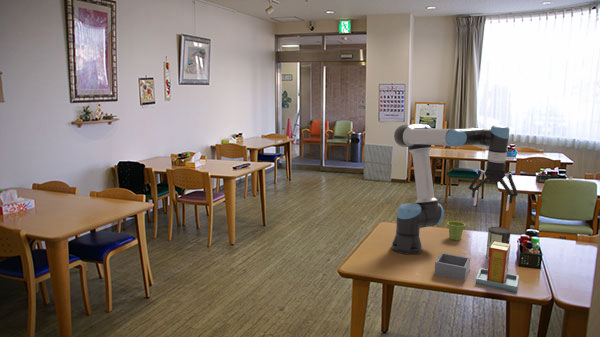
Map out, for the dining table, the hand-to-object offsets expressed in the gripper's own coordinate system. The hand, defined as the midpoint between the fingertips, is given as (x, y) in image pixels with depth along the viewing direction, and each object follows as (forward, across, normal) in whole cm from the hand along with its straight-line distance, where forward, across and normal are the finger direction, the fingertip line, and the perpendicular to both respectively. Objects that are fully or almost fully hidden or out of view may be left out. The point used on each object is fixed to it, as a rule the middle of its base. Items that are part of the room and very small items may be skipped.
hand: (490, 207), depth 205 cm
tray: (+30, +7, -12) cm, 33 cm away
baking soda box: (+29, +7, -12) cm, 32 cm away
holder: (+30, -12, -11) cm, 34 cm away
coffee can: (+30, +3, +21) cm, 37 cm away
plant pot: (+31, -20, +39) cm, 53 cm away
